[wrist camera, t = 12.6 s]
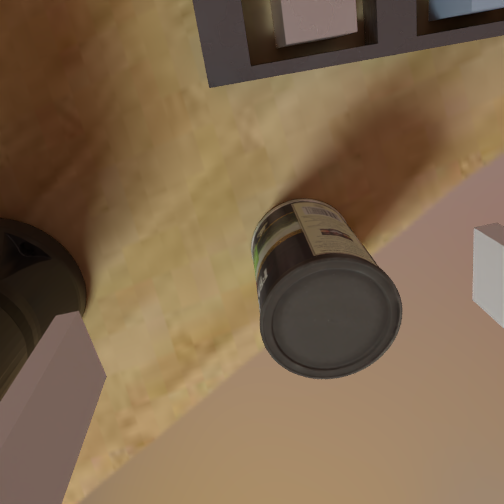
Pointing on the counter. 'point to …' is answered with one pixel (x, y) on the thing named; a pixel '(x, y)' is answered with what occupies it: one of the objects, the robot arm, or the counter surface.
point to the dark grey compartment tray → (376, 45)
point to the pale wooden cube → (312, 20)
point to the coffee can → (321, 292)
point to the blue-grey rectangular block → (460, 7)
